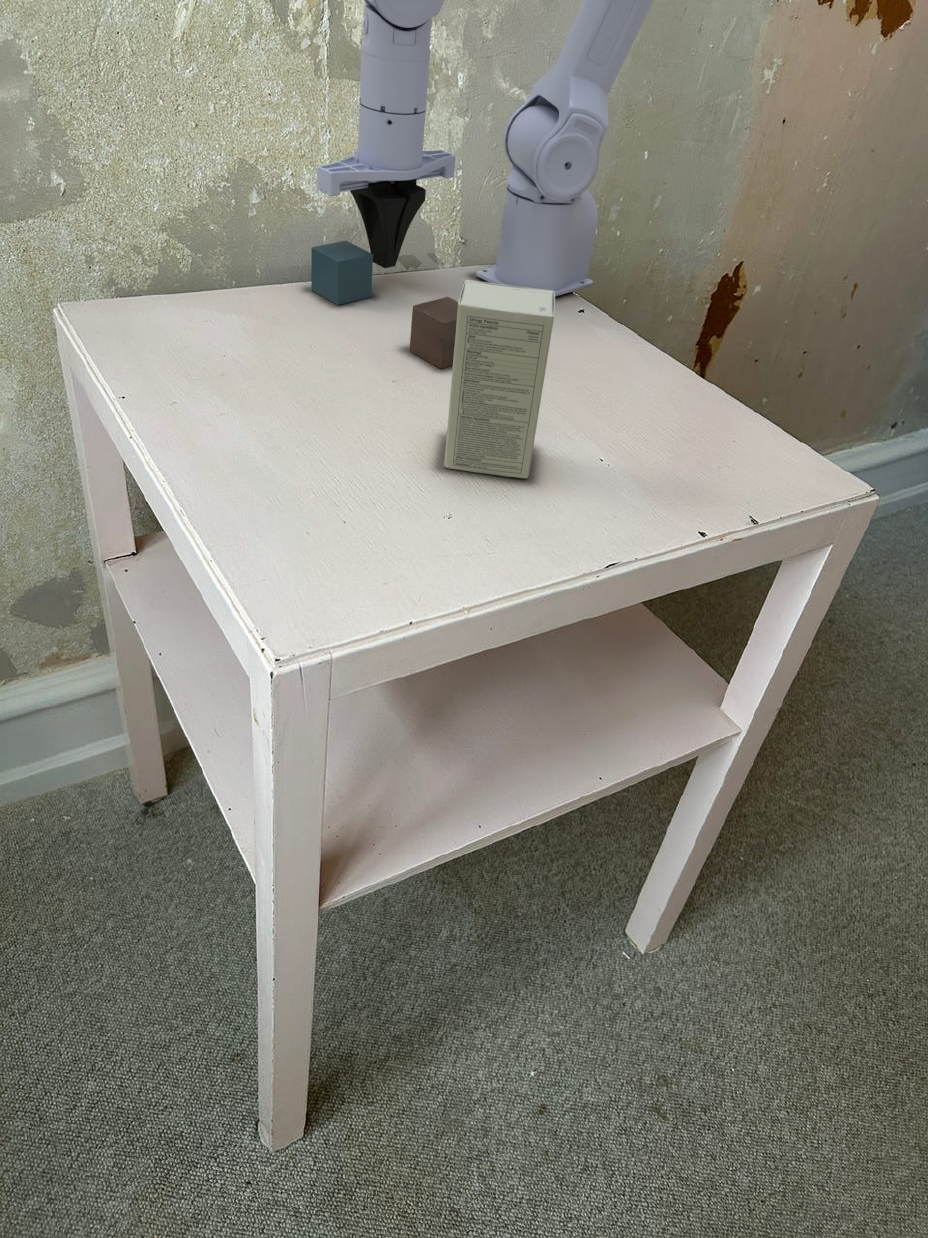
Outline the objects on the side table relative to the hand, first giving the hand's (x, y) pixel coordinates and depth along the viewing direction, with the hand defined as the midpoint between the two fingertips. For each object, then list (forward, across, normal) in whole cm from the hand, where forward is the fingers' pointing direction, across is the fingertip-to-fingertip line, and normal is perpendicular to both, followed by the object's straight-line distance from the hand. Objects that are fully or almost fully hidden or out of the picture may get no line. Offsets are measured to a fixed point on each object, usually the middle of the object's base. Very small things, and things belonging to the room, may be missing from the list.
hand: (383, 263), depth 90 cm
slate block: (+2, +5, 0) cm, 5 cm away
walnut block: (+2, +6, +15) cm, 16 cm away
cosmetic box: (+2, +14, +29) cm, 33 cm away
